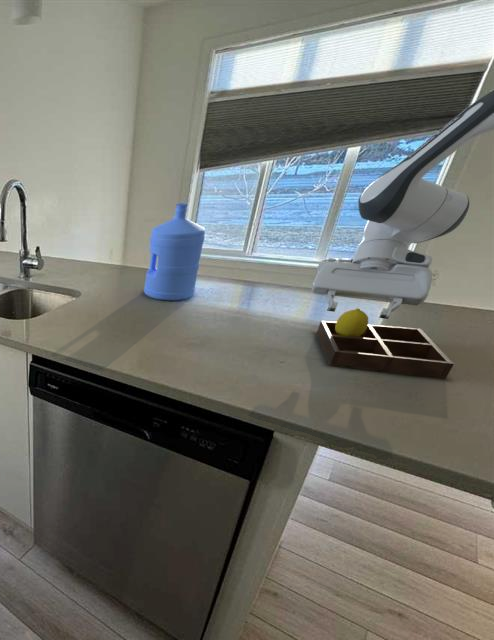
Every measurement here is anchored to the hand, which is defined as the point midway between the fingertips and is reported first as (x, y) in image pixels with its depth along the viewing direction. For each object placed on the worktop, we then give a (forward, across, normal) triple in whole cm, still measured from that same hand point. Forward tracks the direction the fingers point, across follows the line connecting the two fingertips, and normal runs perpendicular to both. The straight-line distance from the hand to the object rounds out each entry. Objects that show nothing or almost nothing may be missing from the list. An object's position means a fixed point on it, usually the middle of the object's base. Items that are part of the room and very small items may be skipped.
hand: (356, 313), depth 94 cm
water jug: (-6, -48, +16) cm, 51 cm away
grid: (+8, +5, +2) cm, 10 cm away
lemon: (+6, 0, +4) cm, 7 cm away
